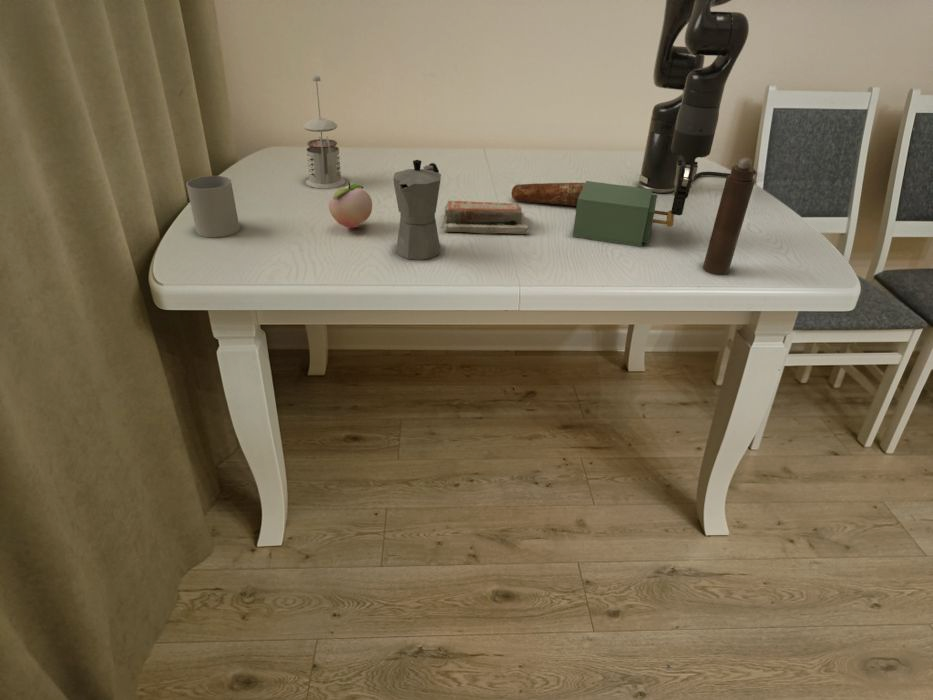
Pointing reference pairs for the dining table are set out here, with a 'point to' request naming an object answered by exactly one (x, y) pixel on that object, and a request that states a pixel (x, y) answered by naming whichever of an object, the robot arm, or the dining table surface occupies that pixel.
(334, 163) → the french press
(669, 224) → the drawer
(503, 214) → the packaged product
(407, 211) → the coffeepot
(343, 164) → the dining table surface
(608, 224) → the cabinet
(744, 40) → the robot arm
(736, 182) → the pepper mill
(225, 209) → the cup
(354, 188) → the decorative fruit
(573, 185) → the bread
